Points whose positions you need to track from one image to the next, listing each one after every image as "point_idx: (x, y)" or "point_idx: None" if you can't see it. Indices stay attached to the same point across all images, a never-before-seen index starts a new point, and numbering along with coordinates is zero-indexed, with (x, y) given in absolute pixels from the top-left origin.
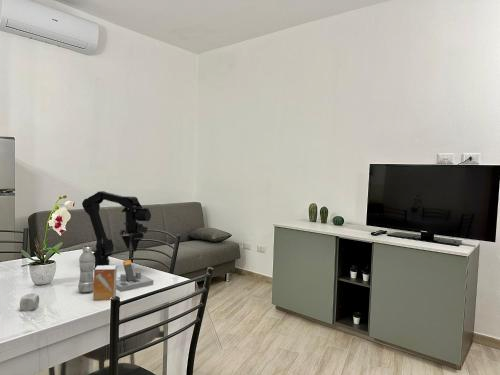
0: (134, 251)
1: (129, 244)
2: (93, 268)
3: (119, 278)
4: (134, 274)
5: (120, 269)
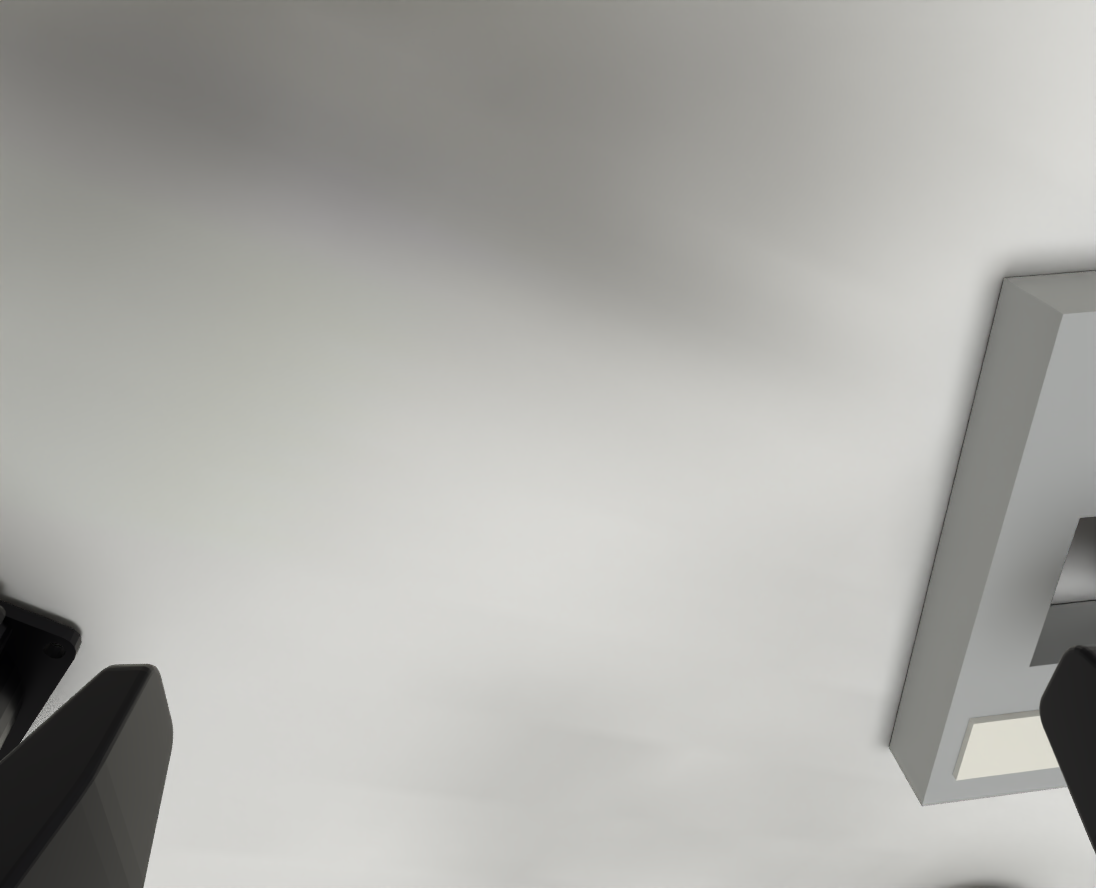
0: (1077, 690)
1: (37, 870)
2: None
3: (1025, 687)
4: (1042, 427)
5: (143, 380)
